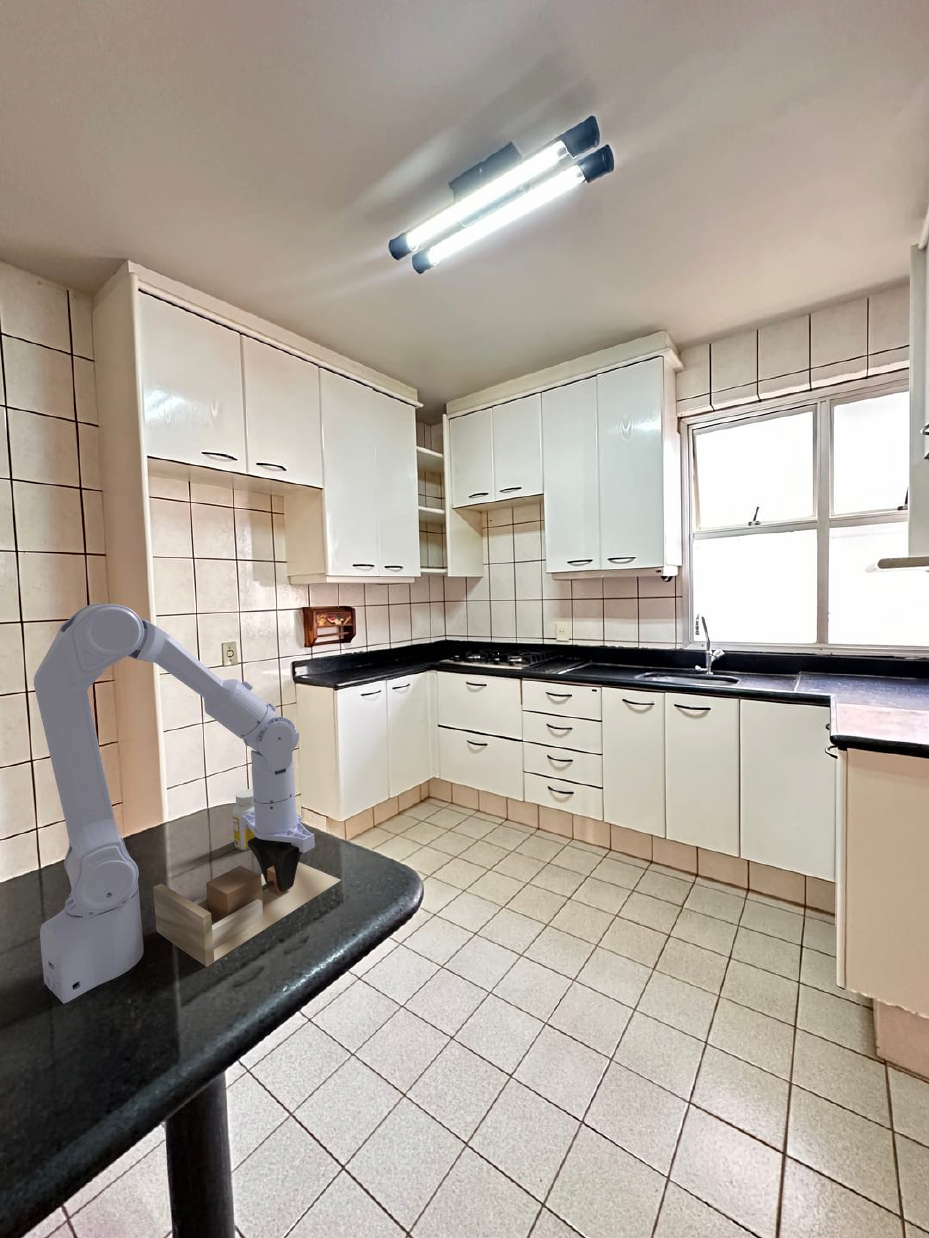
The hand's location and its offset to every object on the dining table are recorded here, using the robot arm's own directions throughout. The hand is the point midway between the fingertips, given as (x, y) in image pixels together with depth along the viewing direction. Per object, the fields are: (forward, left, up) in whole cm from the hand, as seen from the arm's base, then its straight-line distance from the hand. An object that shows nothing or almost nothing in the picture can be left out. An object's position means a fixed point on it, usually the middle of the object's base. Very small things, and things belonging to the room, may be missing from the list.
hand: (280, 885), depth 77 cm
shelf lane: (-4, 0, -1) cm, 4 cm away
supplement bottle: (+6, +17, -2) cm, 18 cm away
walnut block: (-4, 0, -1) cm, 4 cm away
